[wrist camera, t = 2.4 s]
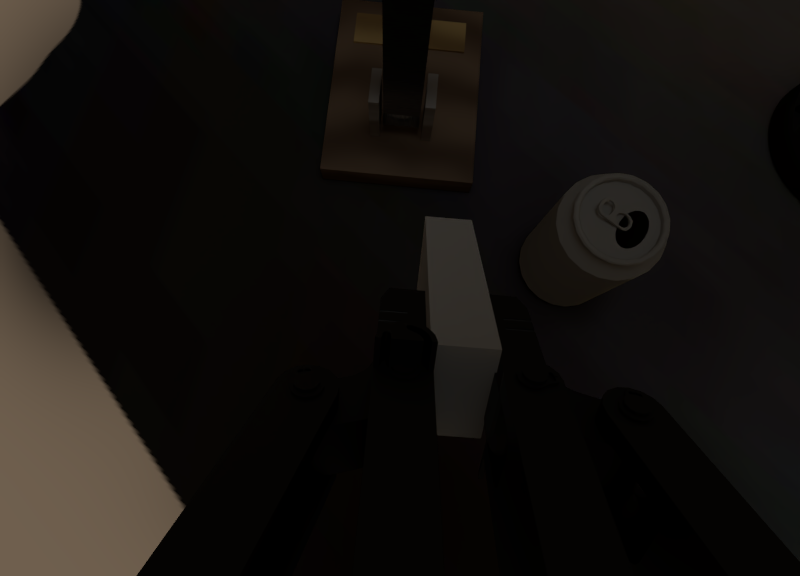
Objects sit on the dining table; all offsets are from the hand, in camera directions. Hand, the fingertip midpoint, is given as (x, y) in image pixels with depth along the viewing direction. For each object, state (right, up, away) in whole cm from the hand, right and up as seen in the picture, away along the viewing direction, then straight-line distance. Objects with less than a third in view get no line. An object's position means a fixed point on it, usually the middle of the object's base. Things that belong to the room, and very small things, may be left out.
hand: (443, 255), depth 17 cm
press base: (-1, +16, +30) cm, 34 cm away
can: (+12, +1, +27) cm, 30 cm away
